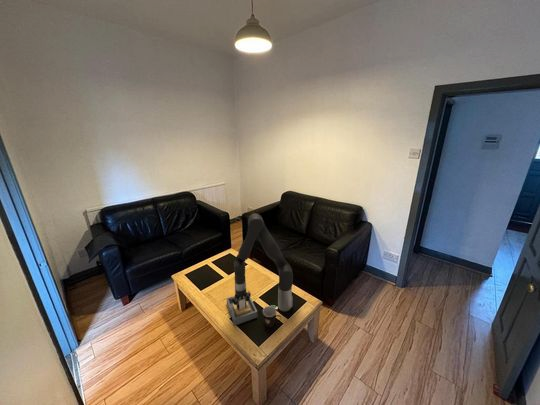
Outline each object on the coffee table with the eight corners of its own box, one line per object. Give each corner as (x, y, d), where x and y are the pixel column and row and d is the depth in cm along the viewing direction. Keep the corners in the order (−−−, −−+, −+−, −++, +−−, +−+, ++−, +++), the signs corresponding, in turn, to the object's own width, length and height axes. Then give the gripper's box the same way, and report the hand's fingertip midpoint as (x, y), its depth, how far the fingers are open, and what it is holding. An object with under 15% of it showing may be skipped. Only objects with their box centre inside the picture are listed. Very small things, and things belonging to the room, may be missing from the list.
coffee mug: (260, 323, 143) (260, 311, 139) (269, 315, 148) (269, 304, 145) (272, 334, 135) (272, 322, 131) (282, 326, 140) (282, 314, 137)
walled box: (248, 297, 164) (247, 291, 162) (257, 317, 147) (257, 311, 145) (227, 303, 158) (226, 298, 156) (234, 325, 141) (234, 319, 139)
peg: (243, 305, 155) (243, 295, 152) (245, 309, 151) (244, 299, 148) (238, 307, 153) (237, 297, 150) (239, 311, 150) (239, 301, 147)
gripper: (248, 280, 152) (249, 299, 157) (228, 286, 146) (230, 306, 152) (252, 287, 145) (253, 307, 151) (231, 293, 140) (233, 314, 145)
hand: (241, 306), depth 151 cm, fingers closed on peg, 4 cm apart
